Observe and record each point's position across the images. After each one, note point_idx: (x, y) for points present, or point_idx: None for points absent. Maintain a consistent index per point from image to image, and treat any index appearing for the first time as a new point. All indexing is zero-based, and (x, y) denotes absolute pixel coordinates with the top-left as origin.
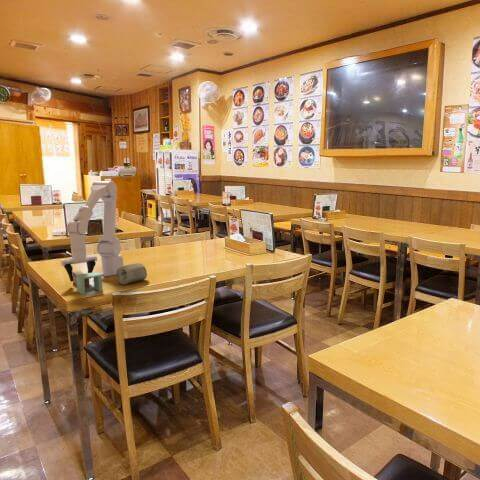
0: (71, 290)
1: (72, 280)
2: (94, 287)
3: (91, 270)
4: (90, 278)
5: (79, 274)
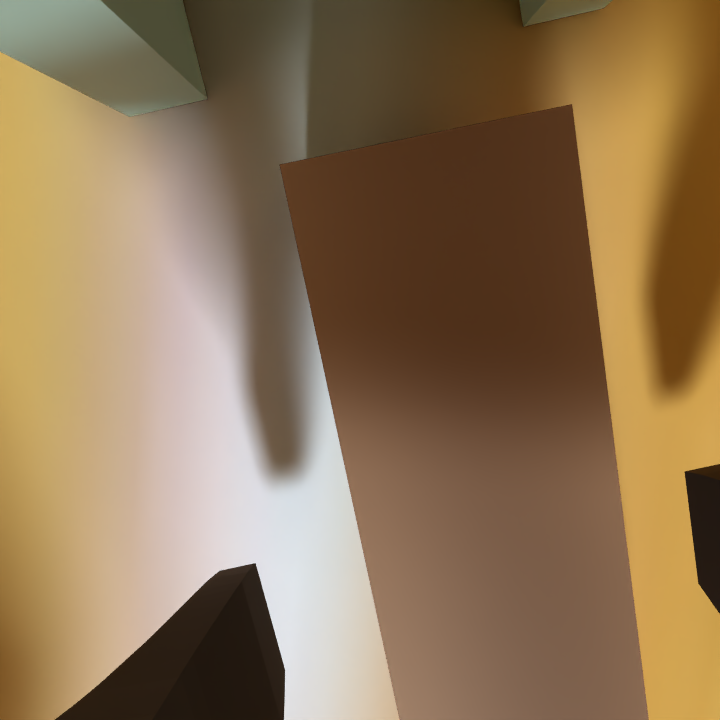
0: (704, 148)
1: (717, 467)
2: (199, 78)
3: (122, 693)
4: (237, 567)
5: (547, 656)
